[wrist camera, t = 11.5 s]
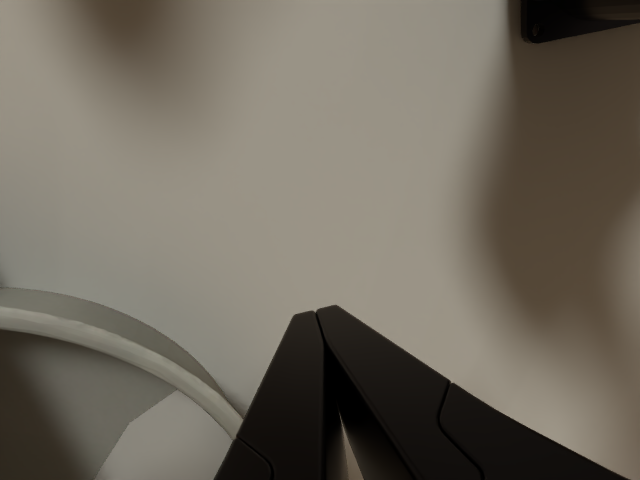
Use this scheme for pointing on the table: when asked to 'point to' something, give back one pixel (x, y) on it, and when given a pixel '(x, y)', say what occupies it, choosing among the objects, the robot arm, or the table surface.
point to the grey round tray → (84, 383)
